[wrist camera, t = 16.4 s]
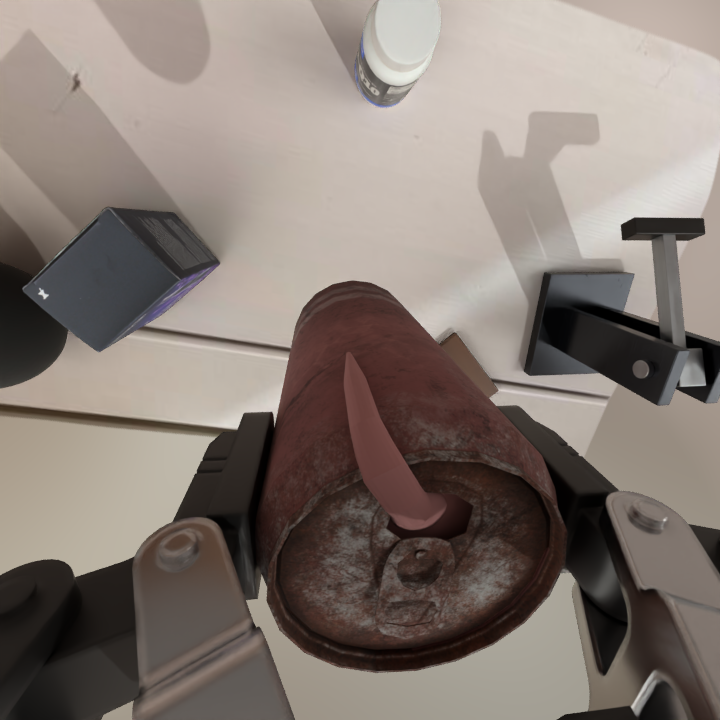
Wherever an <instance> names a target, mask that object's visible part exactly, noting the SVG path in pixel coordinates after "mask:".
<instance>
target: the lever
mask: <svg viewBox="0 0 720 720" xmlns="http://www.w3.org/2000/svg"><path fill="white" fill-rule="evenodd" d="M621 232H622V240H652V251H653V262H654V273H655V284H656V295H657V306H658V317H659V328H660V339H661V340H663V341H666V342H669V343H672V344H674V345H677V346H680V347H683V348H685V349H686V340H685V329H684V319H683V308H682V298H681V287H680V278H679V266H678V256H677V246H676V240H678V241H689V240H691V239H694V238H697V237H699V236H702V235H704V234H705V226H704V219H703V218H633V219H631V220H629V221H627V222H625V223H623V224H622V225H621ZM688 350H690V353H689V356H688V358H687V361H686V363H685V366H684V368H683V371H682V374H681V376H680V379H679V381H678V384H677V386H676V387H688V386H705V385H706V380H705V370H704V360H703V349H702V348H693V349H688Z"/></svg>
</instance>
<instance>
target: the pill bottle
mask: <svg viewBox="0 0 720 720" xmlns="http://www.w3.org/2000/svg"><path fill="white" fill-rule="evenodd" d="M440 28H441V12H440V7H439V3H438V0H378V1H377V2H376V3H375V4H374V5H373V7H372V8H371V10H370V12H369V14H368V16H367V19H366V21H365V24H364V29H363V33H362V37H361V41H360V44H359V49H358V52H357V56H356V60H355V79H356V84H357V87H358V89H359V91H360V93H361V95H362V96H363V98H364V99H365V100H366V101H367V102H368V103H370V104H372V105H373V106H376V107H379V108H388V107H392V106H394V105H396V104H398V103H399V102H400V101H402V100H403V99H404V97H405V96H406V95H407V94H408V92H409V91H410V90H411V88H412V87H413V86H414V84H415V83H416V82H417V80H418V79H419V78H420V77H421V75H422V74H423V73H424V72H425V70H426V69H427V67H428V65H429V63H430V61H431V58H432V55H433V52H434V47H435V45H436V43H437V40H438V37H439V33H440Z"/></svg>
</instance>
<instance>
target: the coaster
mask: <svg viewBox="0 0 720 720" xmlns="http://www.w3.org/2000/svg"><path fill="white" fill-rule="evenodd" d="M439 345H440V346H441V347H442V348H443V350H444V351H445V352H446V353H447V354H448V355H449V356H450V357H451V358H452V359H453V360H454V361H455V362H456V364H457V365H458V366H459V367H460V368H461V369H462V370H463V371H464V372H465V373H466V374H467V375H468V376H469V378H470V379H471V380H472V381H473V382H474V383H475V384H476V385H477V386H478V387H479V388H480V389H481V390H482V391H483V393H484V394H485V395H486V396H487V397H488V398H489V397H491V396H492V395H493V394H495V393H496V392H498V389H497V388H496V386H495V385H494V384H493V382H492V381H491V380H490V378H489V377H488V375H487V374H486V373H485V371H484V370H483V369H482V367H481V366H480V365H479V363H478V362H477V361H476V359H475V358H474V357H473V355H472V354H471V353H470V351H469V350H468V349H467V347H466V346H465V345H464V343H463V342H462V341H461V339H460V338H459V337H458V335H457V334H456V333H453V334H452V335H451V336H449V337H448V338H447V339H446V340H444V341H443V342H442V343H440V344H439Z"/></svg>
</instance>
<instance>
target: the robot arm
mask: <svg viewBox="0 0 720 720" xmlns="http://www.w3.org/2000/svg"><path fill="white" fill-rule="evenodd" d="M496 407H497V408H498V409H499V410H500V411H501V412H502V413H503V414H504V415H505V416H506V417H507V418H508V419H509V421H510V422H511V423H512V424H513V425H514V426H515V427H516V428H517V429H518V430H519V431H520V432H521V433H522V435H523V436H524V437H525V438H526V439H527V440H528V441H529V442H530V443H531V444H532V445H533V446H534V447H535V449H536V450H537V451H538V452H539V453H540V454H541V455H542V457H543V459H544V462H545V464H546V467H547V469H548V472H549V474H550V477H551V479H552V482H553V484H554V487H555V490H556V497H557V504H558V510H559V512H560V515H561V517H562V520H563V522H564V524H565V527H566V529H567V543H566V556H565V565H564V567H563V569H562V571H561V573H572V575H573V577H574V578H575V579H576V580H575V583H574V585H573V589H572V598H573V603H574V608H575V613H576V618H577V624H578V629H579V634H580V639H581V644H582V649H583V654H584V660H585V665H586V670H587V675H588V681H589V690H590V700H589V709H588V711H587V712H581V713H573V714H566V715H564V716H562V717H560V718H559V719H557V720H720V530H718V529H712V528H706V527H701V526H696V525H690V524H688V523H687V522H686V521H685V520H684V519H683V518H682V517H681V516H680V515H679V514H678V513H676V512H675V511H674V510H672V509H671V508H669V507H668V506H666V505H664V504H663V503H661V502H659V501H657V500H655V499H653V498H650V497H648V496H645V495H642V494H638V493H634V492H629V491H619V490H618V489H617V488H616V487H615V486H614V485H612V484H611V483H610V482H609V481H608V480H607V479H606V478H605V477H604V476H603V475H602V474H600V473H599V472H598V471H597V470H596V469H595V468H594V467H593V466H592V465H590V464H589V463H588V462H587V461H586V460H585V459H584V458H583V457H582V456H579V455H578V454H579V453H577V452H576V451H575V450H574V449H573V448H572V447H571V446H568V445H567V444H568V443H567V442H565V441H564V440H563V439H562V438H561V437H560V436H559V435H558V434H557V433H556V432H554V431H553V430H551V429H549V428H547V427H545V426H544V425H542V424H540V423H538V422H535V421H534V420H533V419H532V418H531V417H530V416H529V415H528V414H527V413H526V412H525V411H524V410H523V409H522V408H520V407H519V406H516V405H514V406H496ZM273 433H274V417H273V413H272V412H255V413H244V414H243V417H242V419H241V422H240V425H239V427H238V430H237V432H223V433H221V434H220V435H219V436H218V437H217V438H216V439H215V440H214V441H212V442H211V443H210V444H209V446H208V448H207V450H206V452H205V454H204V457H203V461H201V463H200V465H199V467H198V469H197V474H195V475H194V478H193V480H192V482H191V484H190V486H189V488H188V491H187V492H186V495H185V497H184V499H183V501H182V503H181V505H180V507H179V509H178V512H177V514H176V516H175V518H174V520H173V522H172V523H169V524H167V525H165V526H164V527H162V528H160V529H158V530H157V531H156V532H154V533H153V534H152V535H150V536H149V537H148V538H147V539H146V541H144V542H143V544H142V545H141V546H140V548H139V549H138V551H137V553H136V555H135V557H133V558H130V559H128V560H126V561H124V562H121V563H118V564H114V565H112V566H109V567H106V568H102V569H99V570H96V571H93V572H90V573H87V574H84V575H81V576H78V577H75V576H74V574H73V571H72V569H71V567H70V566H69V565H68V564H66V563H65V562H63V561H60V560H53V559H51V560H41V561H35V562H31V563H28V564H24V565H22V566H19V567H17V568H14V569H12V570H10V571H8V572H6V573H4V574H2V575H0V720H101V719H102V717H103V715H104V714H106V713H108V712H110V711H112V710H114V709H116V708H118V707H121V706H123V705H125V704H127V703H129V702H131V701H133V700H134V703H133V712H132V720H295V718H294V715H293V713H292V710H291V707H290V704H289V702H288V699H287V696H286V694H285V690H284V688H283V685H282V682H281V679H280V677H279V674H278V671H277V668H276V665H275V663H274V660H273V657H272V655H271V652H270V649H269V646H268V644H267V641H266V639H265V636H264V634H263V632H262V630H261V628H260V627H257V628H256V626H255V624H254V622H253V619H252V617H251V614H250V611H249V608H248V605H247V602H246V600H251V599H258V593H259V587H260V580H261V571H260V569H259V567H258V564H257V562H256V550H255V523H256V515H257V510H258V505H259V501H260V496H261V491H262V486H263V481H264V476H265V472H266V467H267V462H268V457H269V452H270V447H271V443H272V438H273Z"/></svg>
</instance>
